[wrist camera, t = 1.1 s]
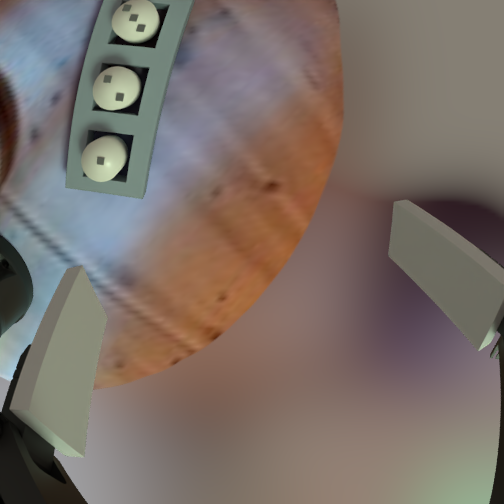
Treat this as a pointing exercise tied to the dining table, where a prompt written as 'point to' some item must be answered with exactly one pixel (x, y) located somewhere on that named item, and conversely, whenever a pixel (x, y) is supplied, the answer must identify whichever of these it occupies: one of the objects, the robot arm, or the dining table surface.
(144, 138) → the button board
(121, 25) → the button
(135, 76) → the button
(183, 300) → the dining table surface
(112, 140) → the button
